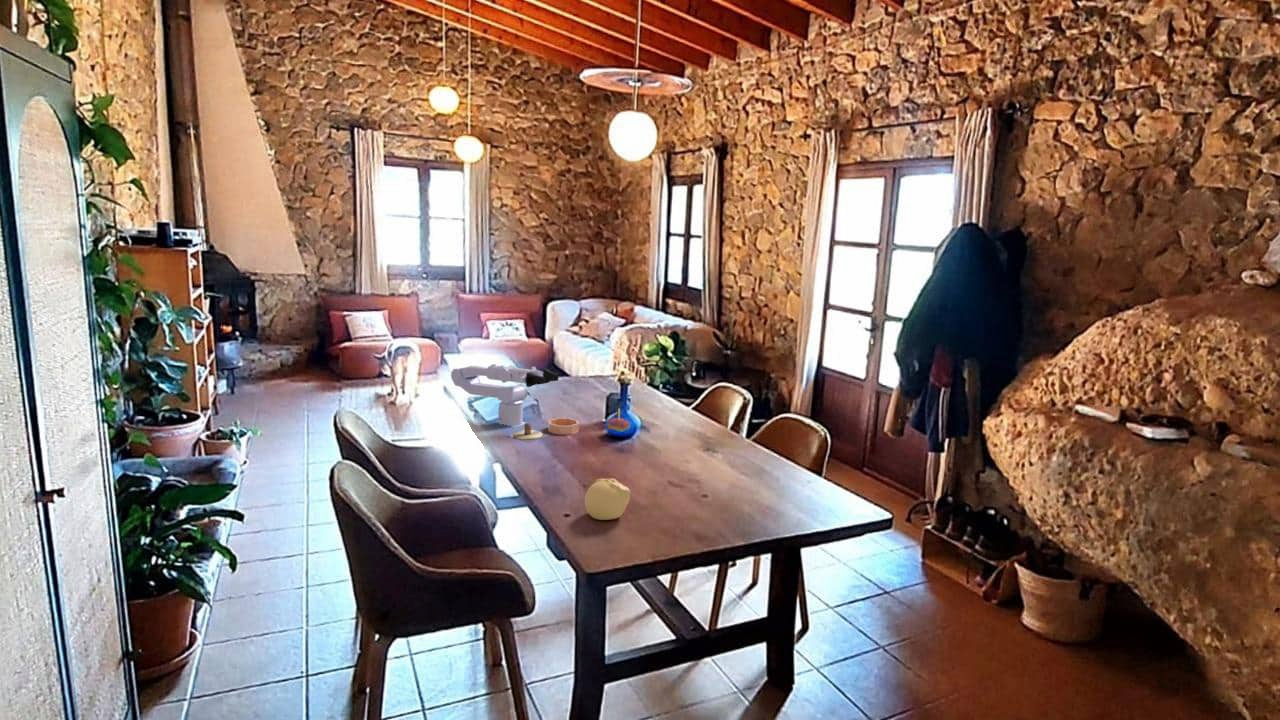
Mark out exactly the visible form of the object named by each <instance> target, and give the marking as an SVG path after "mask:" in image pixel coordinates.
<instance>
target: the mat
mask: <svg viewBox="0 0 1280 720" xmlns="http://www.w3.org/2000/svg"><path fill="white" fill-rule="evenodd" d="M541 433H542V432H541ZM507 435H509V434H506V435H505V437H507ZM509 436H510V435H509ZM549 436H551V435H550V434H546V433H542V437H541V438H539V439H534V440H521V439H518V441H522V442H525V443H528V444H529V443H532V442H536V441H538V440H541V439H544V438H546V437H549ZM512 439H515V438H514V437H513V438H512ZM515 440H517V438H516V439H515Z"/></svg>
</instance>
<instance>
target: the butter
mask: <svg viewBox="0 0 1280 720" xmlns="http://www.w3.org/2000/svg"><path fill="white" fill-rule="evenodd" d="M630 495H631V490H630V488H629V487H627V486H626V485H623V484H622V483H621V482H619V481H618V480H617V479H616V478H613V477H612V478H597V479H596V480H595V482H593V484H591V485H590V487H589V488H588V489H587V491H586V493H585V496H584V507H585V509H586V512H587V513H588V515H590V517H592V518H593V519H595V520H600V521H601V520H602V521H607V520H616V519H618V518H620V517H621V516H622V515H623V513H624V512H625V510H626V508H627V506H628V504H629V503H630V501H631V497H630Z"/></svg>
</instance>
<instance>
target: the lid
mask: <svg viewBox="0 0 1280 720" xmlns="http://www.w3.org/2000/svg"><path fill="white" fill-rule="evenodd" d="M512 433H513V437H514V438H517V439H521V440H534V439H538V440H540V439H539V438H541V437H542V432H541V431H539V430H535V429H532V423H531V422H526V423H525V425H524V429H520V430H516V431H514V432H512ZM514 438H513V439H514ZM517 439H516V440H517ZM541 439H542V438H541ZM521 440H520V441H521Z"/></svg>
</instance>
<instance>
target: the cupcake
mask: <svg viewBox="0 0 1280 720" xmlns="http://www.w3.org/2000/svg"><path fill="white" fill-rule="evenodd" d="M617 410H618V411H617V412H618V413H617V414H618V415H617V417H616V418H617V419H615V418H612V419H610V420H609V422H608V423H607V427H608V428H609V429H610V430H611V429H613V430H616V431H619V432H620V431H621V432H623V431H625V430H627V429H628V430H629V429H630V428H631V427H630V425H631V424H630V421H629V420H626V419H625V418H623V417H621V408H620V407H618V409H617ZM624 419H625V420H624ZM628 430H627V431H628Z"/></svg>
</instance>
